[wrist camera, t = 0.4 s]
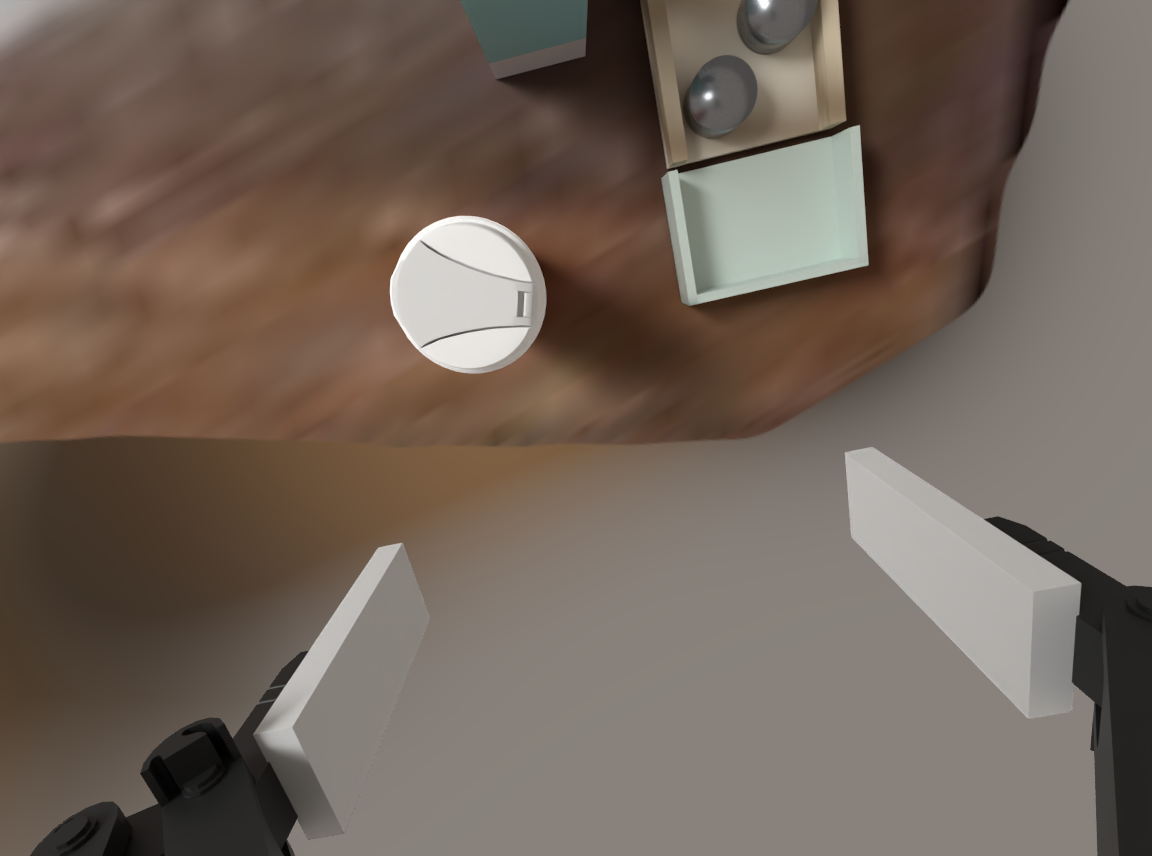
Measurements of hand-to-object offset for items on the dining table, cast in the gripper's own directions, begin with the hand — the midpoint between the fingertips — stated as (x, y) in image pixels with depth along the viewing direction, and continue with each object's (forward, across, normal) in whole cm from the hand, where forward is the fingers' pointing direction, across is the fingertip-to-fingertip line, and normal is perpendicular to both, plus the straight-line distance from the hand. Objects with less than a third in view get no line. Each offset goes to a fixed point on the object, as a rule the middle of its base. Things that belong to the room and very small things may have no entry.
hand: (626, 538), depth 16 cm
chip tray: (+26, +13, +7) cm, 30 cm away
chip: (+26, +11, +15) cm, 32 cm away
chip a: (+26, +15, +19) cm, 35 cm away
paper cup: (+27, -5, +7) cm, 28 cm away
